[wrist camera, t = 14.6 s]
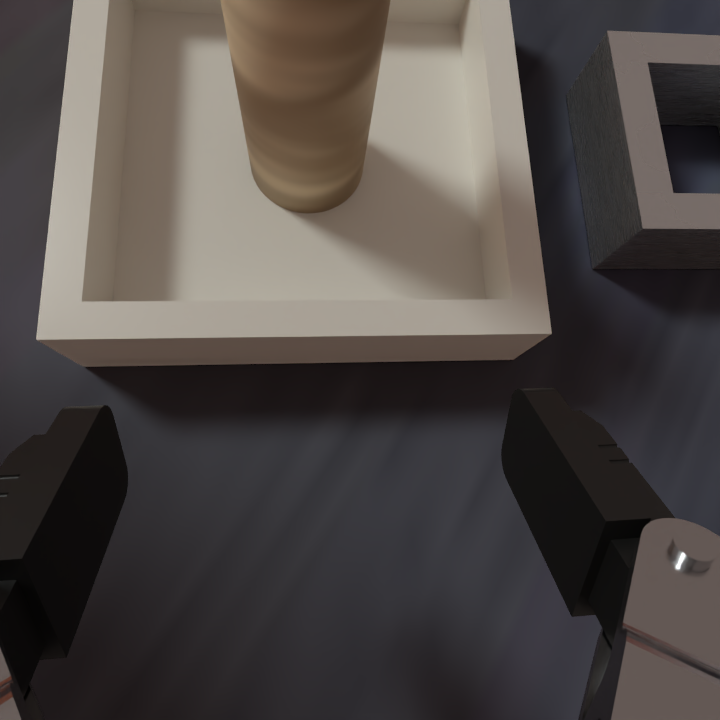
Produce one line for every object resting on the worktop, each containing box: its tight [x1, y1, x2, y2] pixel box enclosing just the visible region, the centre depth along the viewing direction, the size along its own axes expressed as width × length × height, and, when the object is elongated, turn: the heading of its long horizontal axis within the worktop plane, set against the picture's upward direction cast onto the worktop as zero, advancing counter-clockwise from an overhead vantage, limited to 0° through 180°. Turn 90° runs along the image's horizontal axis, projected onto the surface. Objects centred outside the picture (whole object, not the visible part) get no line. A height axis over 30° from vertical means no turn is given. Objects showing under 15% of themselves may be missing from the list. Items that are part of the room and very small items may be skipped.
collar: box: [566, 31, 720, 269], centre depth 22 cm, size 8×8×4 cm
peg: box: [221, 0, 391, 213], centre depth 15 cm, size 4×4×12 cm
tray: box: [36, 0, 552, 367], centre depth 20 cm, size 16×16×4 cm
